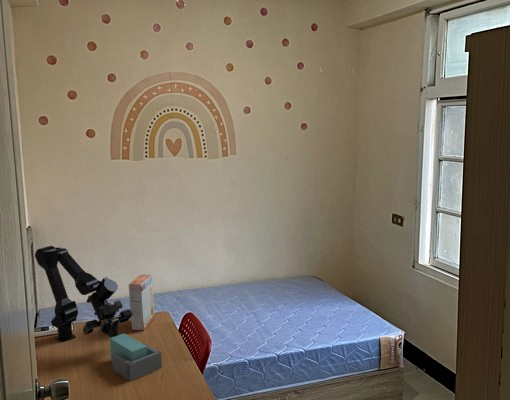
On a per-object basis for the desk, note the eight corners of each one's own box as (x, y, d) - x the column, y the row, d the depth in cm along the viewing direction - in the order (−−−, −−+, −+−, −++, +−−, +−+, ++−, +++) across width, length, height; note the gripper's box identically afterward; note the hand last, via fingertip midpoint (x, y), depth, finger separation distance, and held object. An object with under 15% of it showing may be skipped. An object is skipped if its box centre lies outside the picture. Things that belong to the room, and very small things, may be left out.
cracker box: (142, 318, 228) (140, 273, 225) (155, 318, 227) (152, 274, 224) (130, 330, 214) (127, 283, 211) (144, 331, 213) (141, 284, 210)
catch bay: (112, 369, 180) (111, 354, 179) (143, 357, 189) (143, 342, 188) (130, 381, 172) (129, 364, 171) (161, 367, 181) (161, 352, 180)
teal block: (111, 360, 187) (109, 338, 186) (125, 355, 191) (124, 333, 190) (133, 375, 176) (132, 351, 174) (148, 369, 180) (146, 346, 179)
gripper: (84, 301, 183) (101, 338, 177) (129, 289, 196) (145, 323, 190) (76, 316, 190) (91, 352, 184) (119, 303, 203) (135, 337, 197)
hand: (117, 340), depth 189 cm, fingers closed
